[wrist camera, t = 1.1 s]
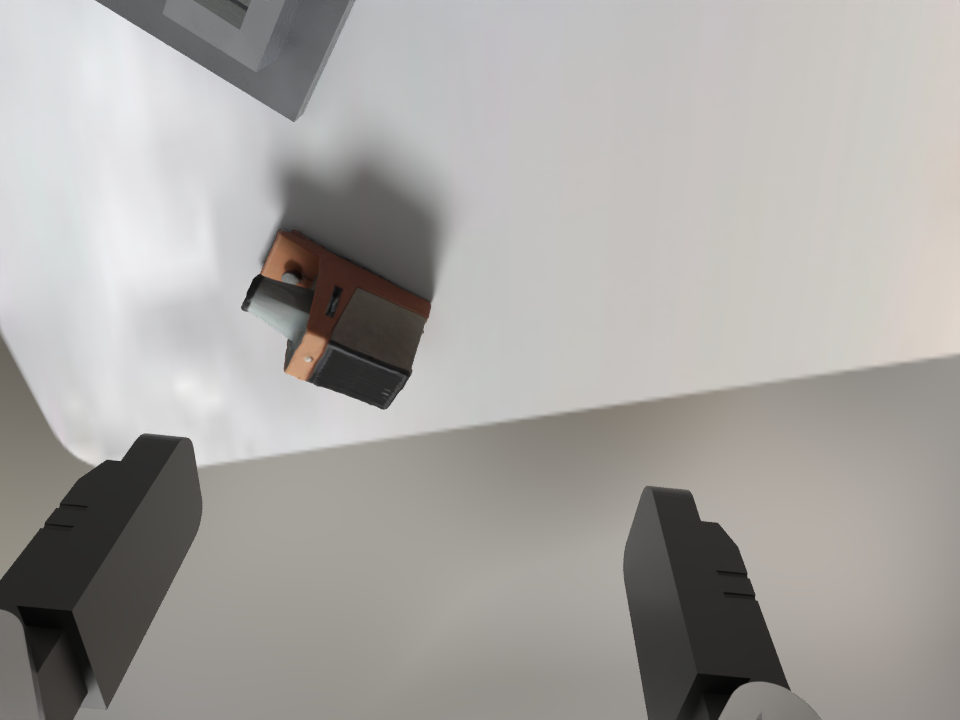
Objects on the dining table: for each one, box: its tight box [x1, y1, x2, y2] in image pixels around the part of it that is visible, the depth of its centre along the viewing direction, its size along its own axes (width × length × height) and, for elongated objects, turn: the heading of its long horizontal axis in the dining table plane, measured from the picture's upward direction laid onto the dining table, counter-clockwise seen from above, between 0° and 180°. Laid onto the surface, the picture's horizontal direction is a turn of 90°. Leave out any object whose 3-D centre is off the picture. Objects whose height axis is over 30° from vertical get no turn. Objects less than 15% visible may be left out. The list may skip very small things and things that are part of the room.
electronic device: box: [241, 229, 431, 410], centre depth 37 cm, size 4×10×8 cm, turn 60°
